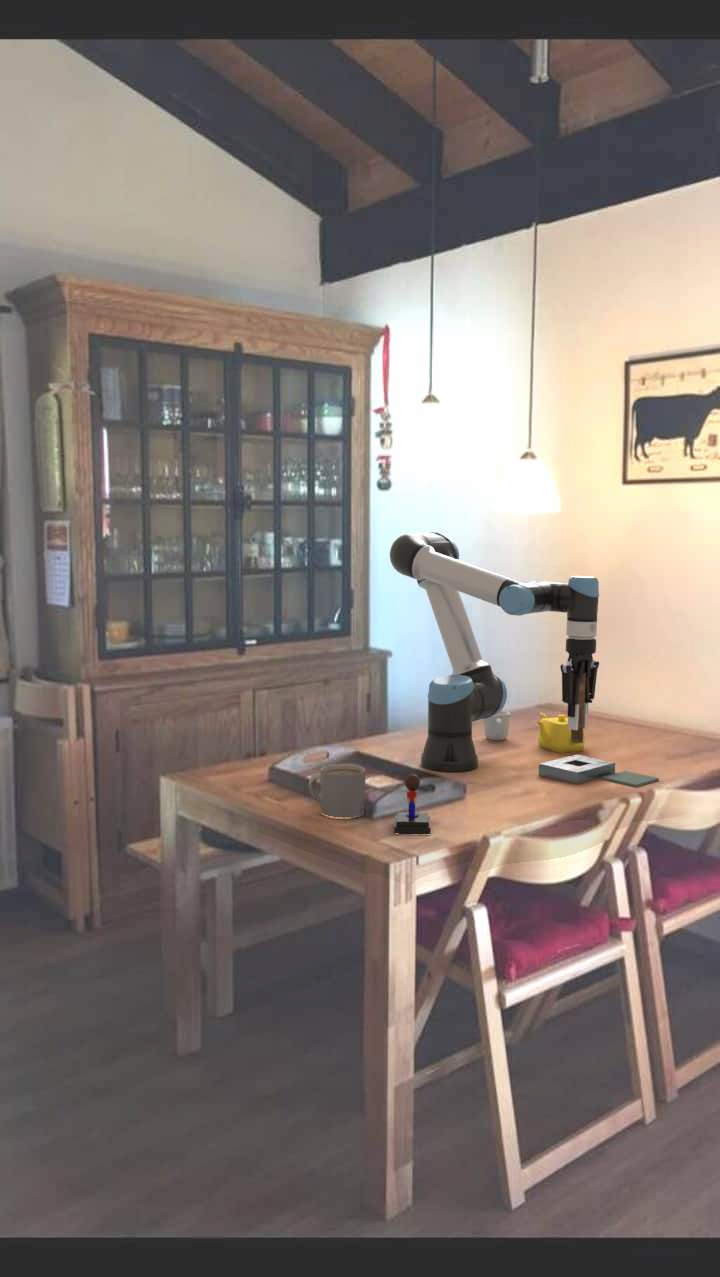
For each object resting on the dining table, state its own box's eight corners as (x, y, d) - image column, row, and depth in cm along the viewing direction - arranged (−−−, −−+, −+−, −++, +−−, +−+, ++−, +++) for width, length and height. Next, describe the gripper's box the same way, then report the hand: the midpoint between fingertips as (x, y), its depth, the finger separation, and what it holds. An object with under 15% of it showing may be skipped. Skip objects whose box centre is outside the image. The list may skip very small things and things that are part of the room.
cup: (512, 744, 303) (513, 717, 302) (485, 743, 303) (485, 716, 302) (508, 736, 314) (508, 710, 313) (481, 735, 314) (482, 709, 313)
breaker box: (576, 784, 258) (577, 772, 257) (538, 775, 267) (539, 763, 266) (614, 774, 268) (615, 762, 268) (576, 765, 277) (577, 754, 277)
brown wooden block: (578, 743, 264) (581, 673, 262) (568, 741, 267) (571, 672, 264) (585, 742, 266) (588, 672, 264) (575, 740, 269) (578, 671, 266)
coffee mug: (374, 812, 232) (374, 768, 231) (345, 822, 224) (345, 777, 223) (328, 801, 240) (329, 759, 239) (299, 810, 233) (299, 767, 232)
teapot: (539, 741, 307) (539, 709, 306) (587, 744, 303) (588, 712, 302) (532, 752, 293) (533, 718, 292) (583, 755, 289) (584, 721, 288)
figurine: (429, 823, 224) (430, 768, 223) (430, 835, 216) (431, 778, 214) (394, 822, 224) (395, 768, 223) (394, 834, 216) (394, 778, 215)
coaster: (636, 787, 255) (636, 784, 255) (601, 779, 263) (602, 776, 263) (658, 780, 262) (658, 778, 262) (624, 772, 269) (625, 770, 269)
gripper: (574, 641, 255) (569, 735, 258) (612, 636, 266) (607, 726, 269) (549, 637, 261) (545, 729, 264) (588, 633, 271) (583, 722, 274)
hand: (577, 728), depth 266 cm, fingers closed on brown wooden block, 3 cm apart
